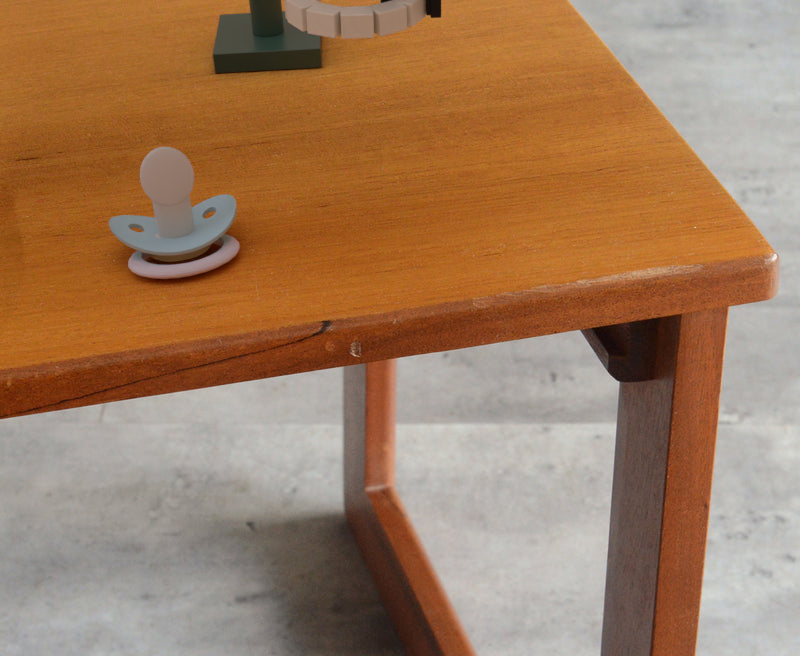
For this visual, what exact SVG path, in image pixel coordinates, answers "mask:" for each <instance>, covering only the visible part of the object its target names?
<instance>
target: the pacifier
mask: <svg viewBox="0 0 800 656" xmlns="http://www.w3.org/2000/svg"><path fill="white" fill-rule="evenodd" d="M139 181H140V185H141V188H142V190H143V192H144V193H145V195H146V197H148V198H149V199H150V200H151V203H152V209H153V213H154V217H153V216H146V215H134V214H121V215H116V216H112V217H110V218H109V220H108V227H109V229H110V232H111V233H112V234H113V236H114V237H115V238H117V240H119V242H121V243H122V244H124V245H126V246H127V247H129V248H131V249H133V250H135V251H134V252H133V253H132V254H131V256H130V257H129V258H128V261H127V267H128V268H129V270H130V271H131V272H132V273H133V274H135V275H137V276H139V277H143V278H148V279H158V280H159V279H160V280H169V279H181V278H186V277H192V276H197V275H199V274H204V273H207V272H210V271H212V270H215V269H217V268H220V267H221V266H223V265H225V264H227V263H228V262H230V261H232V259H234V258H235V257H236V256H237V254H238V253H239V252H240V249H241V245H240V242H239V241H238V240H237V238H236V237H234V236H232V235H229V234H227V232H228V230H229V229H230V228H231V227H232V225H233V223H234V221H235V219H236V216H237V211H238V206H237V201H236V198H235V196H233V195H231V194H228V193H224V194H218V195H215V196H212V197H209V198H207V199H205V200H203V201H201V202H199V203H196V204H195V205H194V206H192V202H191V201H192V200H191V196H190V195H191V193H192V191H193V189H194V184H195V172H194V168H193V165H192V163H191V161H190V159H189V158H188V157H187V156H186V155H185V154H184V153H183V152H182V151H180V150H179V149H177V148H174V147H171V146H159V147H156V148H154V149H152V150H151V151H149V152H148V153H147V154H146V155H145V156H144V158H143V160H142V162H141V165H140V168H139ZM212 212H214V213H213V214H212V216H210V217H207V218H205V217H206V216H207V215H208V214H209V213H212ZM133 229H138V230H141V232H140V231H136V230H133ZM212 244H213V245H217V246H219V247H220V248H219V249H218V250H217V251H215V252H213V253H211V254H210V255H207V256H205V257H203V258H200V259H197V260H193V261H189V262H183V263H176V264H175V263H174V262H181V261H187V260H191V259H193V258H197V257H199V256H201V255H203V254H204V253H206V252H207V251H209V249H210V248H211V247H212ZM150 257H151V258H152V259H154V260H157V261H160V262H167V263H174V264H157V263H153V262H152V263H151V262H148V261H147V259H149V258H150Z"/></svg>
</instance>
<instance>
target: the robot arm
mask: <svg viewBox="0 0 800 656" xmlns="http://www.w3.org/2000/svg"><path fill="white" fill-rule="evenodd" d="M387 1H391V0H380V3H383V2H387ZM426 14H427V15H426V16H430V19H440V18H442V0H426Z"/></svg>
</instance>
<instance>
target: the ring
mask: <svg viewBox="0 0 800 656" xmlns="http://www.w3.org/2000/svg"><path fill="white" fill-rule="evenodd" d="M321 1H322V0H283V2H284V3H283V5H284V11H285V17H286V19H287V20H288V23H290V24H292V25H293V26H295V27H296V28H298V29H299V30H301V31H303V32H304V31H307V32H308V34H313V35H319V36H322V37H325V38H330V39H337V38H338V37H339V36H340V37H341V39H342V40H354V39H358V40H359V39H374V38H375V35H377V36H378V37H385V36H390V35H392V34H396V33H400V32H404V31H407V30H408V28H413V27H415V26H416V25H417V24H419V23H420V22H421V21H422V20H424V19H425V18H426V16H428V15H427V14H426V0H391V1H387V2H383V3H381V2H380V3H376V4H371V5H353V6H351V5H350V6H349V5H348V6H341V5H335V4H331V3H324V2H321Z"/></svg>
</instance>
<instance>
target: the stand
mask: <svg viewBox="0 0 800 656" xmlns="http://www.w3.org/2000/svg"><path fill="white" fill-rule="evenodd" d="M248 3H249V12H245V13H244V12H243V13H227V14H225V13H224V14H219V18H218V23H217V29H216V34H215V39H214V45H213V51H212V60H213V68H214V73H215V74H226V73H227V74H228V73H243V72H244V73H245V72H247V73H248V72H262V71H263V72H264V71H281V70H298V69H299V70H300V69H316V68H322V67H323V44H322V43H323V36H319V35H313V34H308V32H307V31H304V32H303V31H301V30H299V29H298V28H296V27H295V26H293V25H292V24H290V23H288V20H287V19H286V17H285V10H283V6H282V0H248Z"/></svg>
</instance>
